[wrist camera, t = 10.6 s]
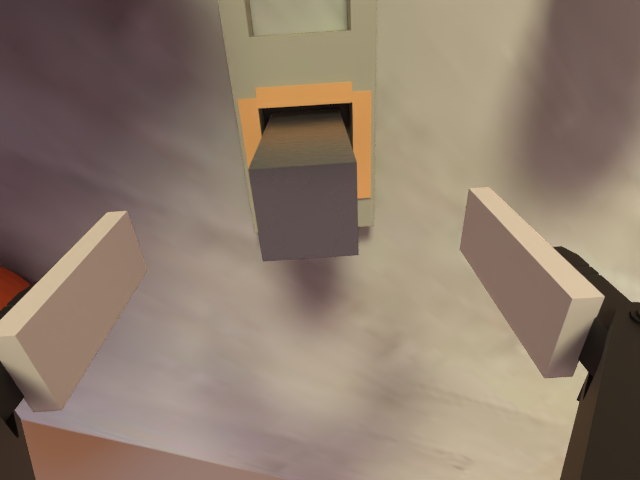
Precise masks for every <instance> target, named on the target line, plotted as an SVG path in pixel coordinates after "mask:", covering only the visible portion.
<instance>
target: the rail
mask: <svg viewBox="0 0 640 480" xmlns="http://www.w3.org/2000/svg"><path fill="white" fill-rule="evenodd" d="M218 7H219V13H220V19H221V25H222V32H223V38H224V44H225V50H226V57H227V63H228V69H229V76H230V82H231V88H232V94H233V101H234V107H235V113H236V119H237V126H238V132H239V138H240V144H241V151H242V157H243V163H244V169H245V176H246V182H247V188H248V194H249V201H250V207H251V213H252V220H253V226H254V232H255V233H258V228H257V222H256V216H255V209H254V203H253V197H252V191H251V185H250V179H249V172H248V169H249V166H250V164H251V161H252V159H253V157H254V154H255V152H256V150H257V147H258V145H259V143H260V140H261V138H262V136H263V133H264V131H265V124H264V116H263V108H274V107H290V106H305V105H321V104H337V103H350V143H351V146H352V149H353V152H354V155H355V158H356V161H357V200H358V227H364V226H374V192H375V114H376V35H377V0H348V30H342V31H327V32H312V33H297V34H282V35H266V36H253V29H252V21H251V13H250V5H249V0H218Z"/></svg>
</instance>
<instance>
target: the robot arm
mask: <svg viewBox="0 0 640 480" xmlns="http://www.w3.org/2000/svg"><path fill="white" fill-rule="evenodd" d="M460 250H461V252H462V253H463V255H464V256H465V258H466V259H467V261H468V263H469V264H470V266H471V267H472V269H473V270H474V272H475V273H476V275H477V276H478V278H479V279H480V281H481V282H482V284H483V285H484V287H485V288H486V290H487V291H488V293H489V295H490V296H491V298H492V299H493V301H494V302H495V304H496V305H497V307H498V308H499V310H500V311H501V313H502V314H503V316H504V317H505V319H506V320H507V322H508V324H509V325H510V327H511V328H512V330H513V331H514V333H515V334H516V336H517V337H518V339H519V340H520V342H521V343H522V345H523V346H524V348H525V349H526V351H527V353H528V354H529V356H530V357H531V359H532V360H533V362H534V363H535V365H536V366H537V368H538V369H539V371H540V372H541V374H542V375H543V377H544V378H557V377H572V376H573V374H574V372H575V369H576V367H577V364H578V362H579V361H580V362H581V363H582V364H583V366H584V367H585V368H586V369H587V371H588V375H587V377H586V379H585V382H584V384H583V386H582V389H581V391H580V393H579V396H578V398H577V400H578V401H580V402H579V406H578V410H577V414H576V418H575V422H574V426H573V430H572V434H571V438H570V442H569V446H568V450H567V454H566V458H565V462H564V466H563V470H562V474H561V478H560V480H640V303H639V302H631V301H629V300H628V299H627V298H626V297H625V296H624V295H623V294H622V293H620V292H619V291H618V290H617V289H616V288H615V287H614V286H613V285H611V284H610V283H609V282H608V281H607V280H606V279H605V278H604V277H602V276H601V275H599V274H598V272H597V271H596V270H594V269H593V268H592V267H589V264H588V263H587V262H585V261H584V260H583V259H582V258H581V257H580V256H579V255H577V254H575V253H573V252H571V251H569V250H567V249H566V248H564V247H562V246H560V247H552V246H551V245H550V244H549V243H548V242H547V241H546V240H544V239H543V238H542V237H541V236H540V235H539V234H538V233H537V232H536V231H535V230H534V229H533V228H532V227H531V226H530V225H529V224H528V223H526V222H525V221H524V220H523V219H522V218H521V217H520V216H519V215H518V214H517V213H516V212H515V211H514V210H513V209H512V208H511V207H510V206H509V205H507V204H506V203H505V202H504V201H503V200H502V199H501V198H500V197H499V196H498V195H497V194H496V193H495V192H494V191H493V190H492V189H491V188H489V187H481V188H469V191H468V198H467V205H466V211H465V218H464V225H463V231H462V238H461V245H460ZM147 270H148V269H147V267H146V264H145V261H144V258H143V255H142V252H141V249H140V246H139V243H138V241H137V238H136V235H135V232H134V229H133V226H132V223H131V220H130V217H129V215H128V212H127V211H118V212H107V213H106V214H105V215H104V216H103V217H102V218H101V219H100V220H99V221H98V222H97V223H96V224H95V225H94V226H93V227H92V228H91V229H90V230H89V231H88V232H87V233H86V234H85V235H84V236H83V237H82V238H81V239H80V240H79V241H78V242H77V243H76V244H75V245H74V246H73V247H72V248H71V249H70V250H69V251H68V252H67V253H66V254H65V255H64V256H63V257H62V258H61V259H60V260H59V261H58V262H57V263H56V264H55V265H54V266H53V267H52V268H51V269H50V270H49V271H48V272H47V273H46V274H45V275H44V276H43V277H42V278H41V279H40V280H39V281H38V282H35V283H33V284H32V285H30V286H29V287H27V288H25V289H24V290H22V291H21V292H19V293H18V294H17V295H16V296H15V297H14V298H13V299H12V300H11V301H10V302H9V303H8V304H7V307H4V308H3V309H2V310H0V480H35V476H34V472H33V468H32V464H31V460H30V455H29V451H28V447H27V443H26V439H25V435H24V431H23V427H22V423H21V419H20V417H19V416H18V415H17V413H16V412H15V409H16V407H17V406H18V405H19V403H20V402H21V401H22V399H23V398H24V399H25V400H26V402H27V403H28V405H29V406H30V408H31V409H32V411H33V412H42V411H57V410H62V409H63V407H64V406H65V404H66V402H67V401H68V399H69V397H70V396H71V394H72V392H73V391H74V389H75V388H76V386H77V384H78V383H79V381H80V379H81V378H82V376H83V375H84V373H85V371H86V370H87V368H88V366H89V365H90V363H91V361H92V360H93V358H94V357H95V355H96V353H97V352H98V350H99V348H100V347H101V345H102V344H103V342H104V340H105V339H106V337H107V335H108V334H109V332H110V330H111V329H112V327H113V326H114V324H115V322H116V321H117V319H118V317H119V316H120V314H121V313H122V311H123V309H124V308H125V306H126V304H127V303H128V301H129V299H130V298H131V296H132V295H133V293H134V291H135V290H136V288H137V286H138V285H139V283H140V282H141V280H142V278H143V277H144V275H145V273H146V272H147Z"/></svg>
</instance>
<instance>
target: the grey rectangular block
mask: <svg viewBox="0 0 640 480" xmlns="http://www.w3.org/2000/svg"><path fill="white" fill-rule="evenodd" d="M248 172H249V179H250V185H251V191H252V197H253V203H254V209H255V216H256V222H257V228H258V234H259V240H260V247H261V253H262V259H263V261H276V260H291V259H306V258H321V257H336V256H351V255H358V200H357V161H356V158H355V155H354V152H353V149H352V146H351V143H350V140H349V137H348V134H347V131H346V128H345V125H344V122H343V120H342V117H341V114H340V111H339V108H327V109H313V110H299V111H285V112H272V114H271V117H270V119H269V121H268V124H267V126H266V128H265V131H264V133H263V136H262V138H261V140H260V143H259V145H258V147H257V150H256V152H255V154H254V157H253V159H252V161H251V164H250V166H249V169H248Z"/></svg>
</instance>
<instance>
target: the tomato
mask: <svg viewBox="0 0 640 480" xmlns="http://www.w3.org/2000/svg"><path fill="white" fill-rule="evenodd" d="M29 286H30V284H29V283H28V282H26V281H25V280H24V279H23V278H22V277H20V276H19V275H17V274H15V273H14V272H12V271H10V270H8V269H6V268H3V267H0V310H2V309H3V308H4V307H7V304H8V303H9V302H10V301H11V300H12V299H13V298H14V297H15V296H16V295H17V294H18V293H19V292H21V291H22V290H24V289H25V288H27V287H29Z"/></svg>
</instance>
